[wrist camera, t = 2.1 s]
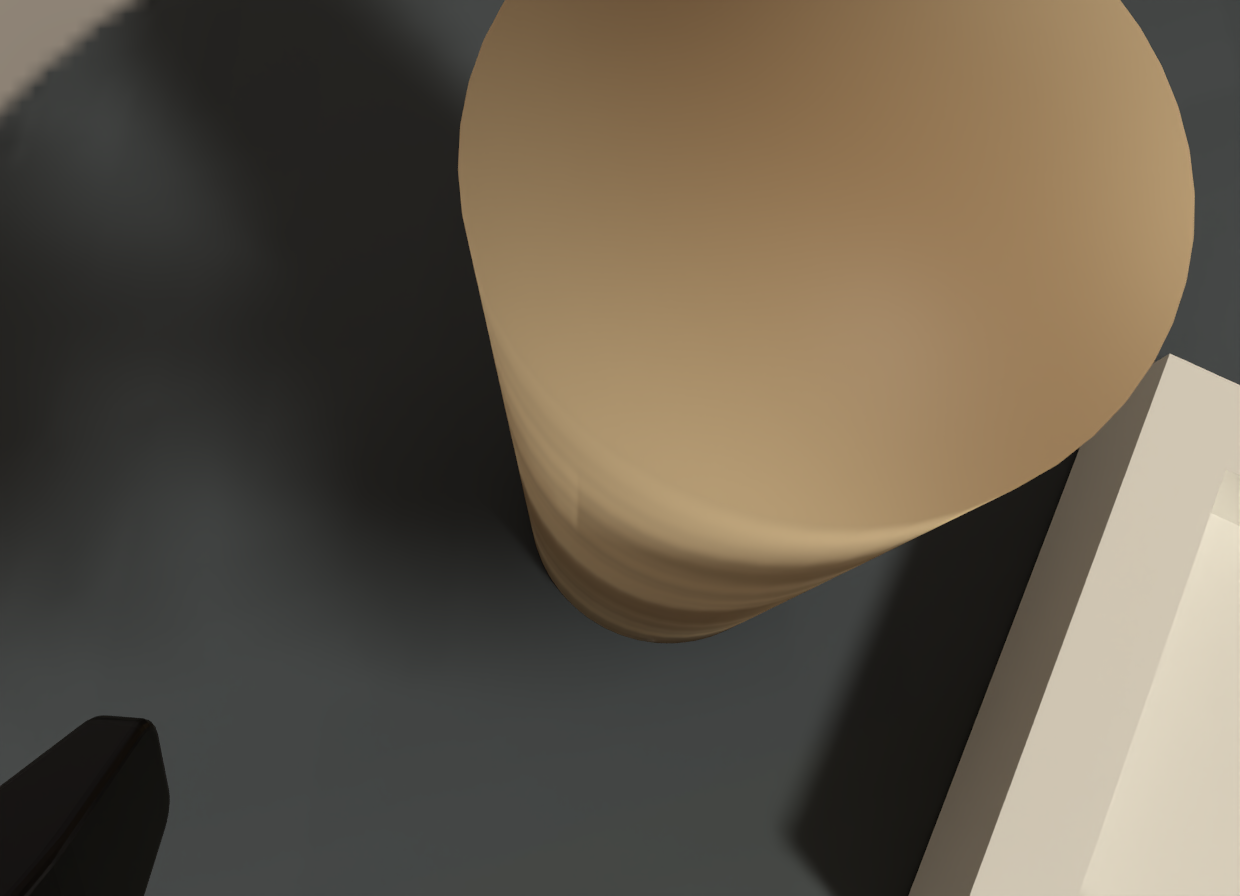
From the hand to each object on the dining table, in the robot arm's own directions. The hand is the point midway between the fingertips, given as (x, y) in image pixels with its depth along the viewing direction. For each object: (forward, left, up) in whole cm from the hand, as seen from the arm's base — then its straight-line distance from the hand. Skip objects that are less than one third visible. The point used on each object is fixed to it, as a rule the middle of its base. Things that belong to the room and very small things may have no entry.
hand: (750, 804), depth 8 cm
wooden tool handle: (+3, +3, -11) cm, 12 cm away
